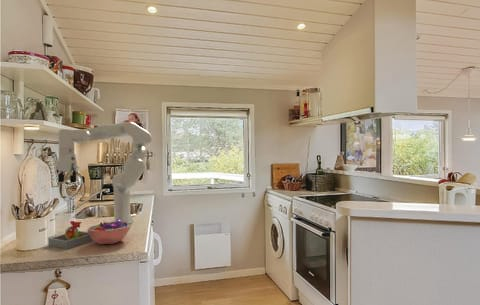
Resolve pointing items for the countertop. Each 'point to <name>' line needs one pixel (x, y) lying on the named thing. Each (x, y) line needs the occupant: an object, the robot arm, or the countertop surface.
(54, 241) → the grey picture frame
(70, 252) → the countertop surface
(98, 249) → the countertop surface
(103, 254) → the countertop surface
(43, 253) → the countertop surface
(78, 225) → the bird rattle
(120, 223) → the cell model
